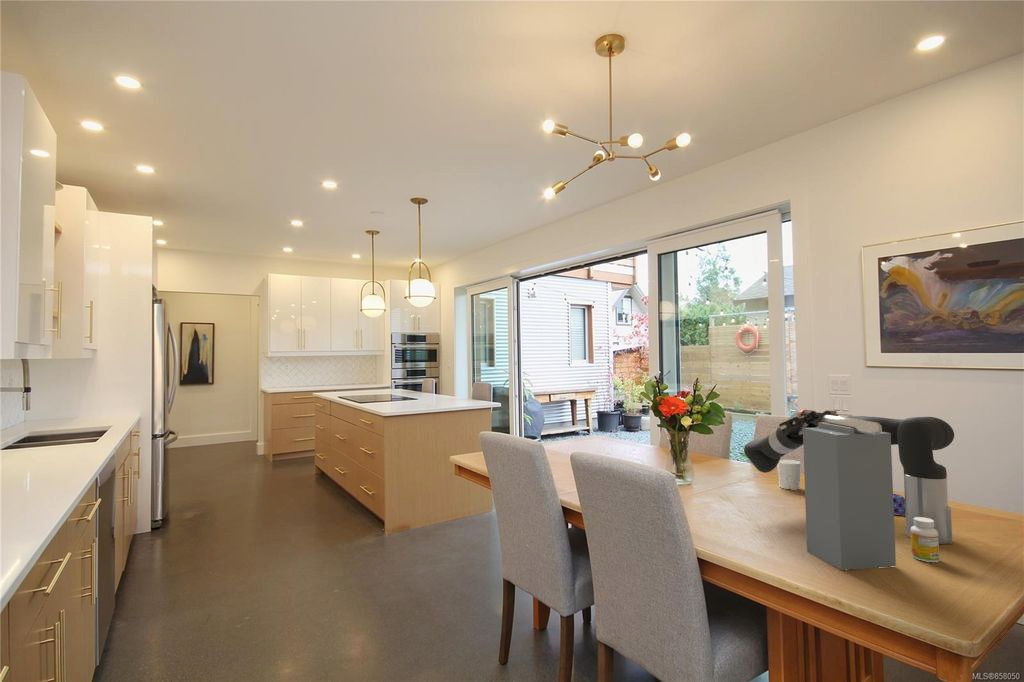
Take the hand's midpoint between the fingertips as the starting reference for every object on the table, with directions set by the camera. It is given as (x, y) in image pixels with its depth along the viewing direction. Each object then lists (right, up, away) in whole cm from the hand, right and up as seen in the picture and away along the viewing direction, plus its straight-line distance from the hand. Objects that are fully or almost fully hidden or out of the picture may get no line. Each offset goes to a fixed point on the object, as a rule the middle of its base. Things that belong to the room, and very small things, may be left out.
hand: (822, 414), depth 134 cm
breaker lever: (+1, -3, -5) cm, 6 cm away
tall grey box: (+1, -35, -9) cm, 36 cm away
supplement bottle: (+20, -35, -10) cm, 41 cm away
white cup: (+23, -37, +57) cm, 72 cm away
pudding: (+40, -36, +28) cm, 61 cm away
